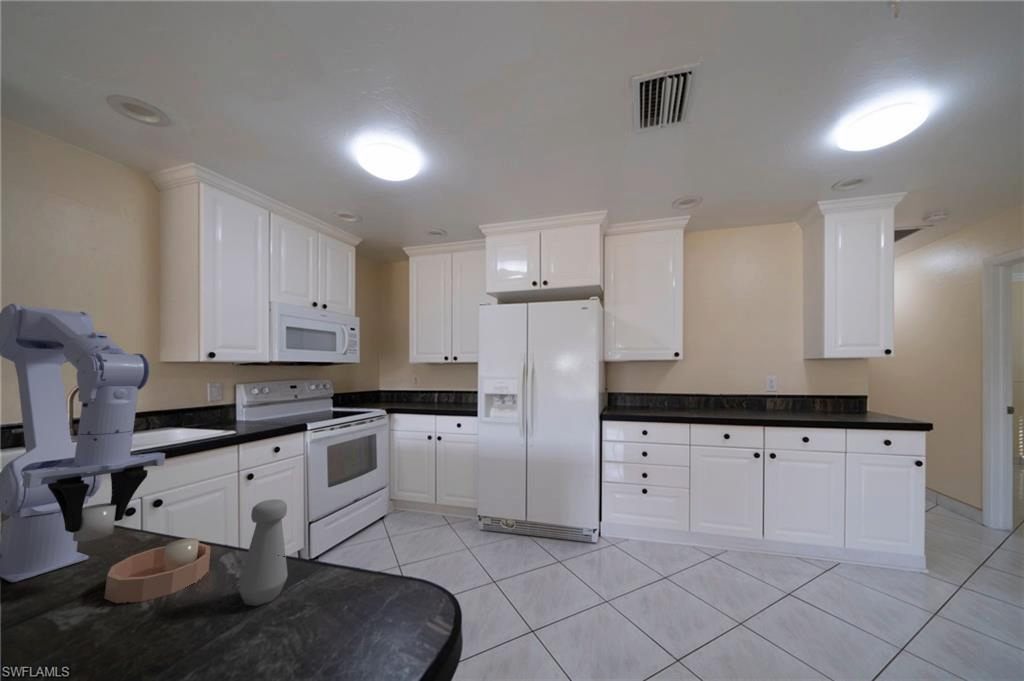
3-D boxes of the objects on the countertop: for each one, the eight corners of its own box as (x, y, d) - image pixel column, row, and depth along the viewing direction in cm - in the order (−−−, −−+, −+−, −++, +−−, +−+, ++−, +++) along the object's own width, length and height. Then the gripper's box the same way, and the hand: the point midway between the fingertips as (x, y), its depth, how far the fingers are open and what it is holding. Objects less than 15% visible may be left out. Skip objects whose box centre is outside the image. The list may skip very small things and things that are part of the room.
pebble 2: (156, 573, 57) (159, 546, 58) (186, 561, 61) (189, 536, 61) (171, 579, 56) (174, 551, 56) (202, 566, 59) (204, 540, 60)
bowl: (89, 591, 53) (91, 569, 53) (181, 556, 63) (183, 538, 64) (133, 610, 49) (136, 586, 49) (224, 570, 59) (226, 550, 60)
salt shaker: (261, 613, 49) (269, 510, 50) (225, 606, 50) (234, 507, 51) (295, 588, 55) (302, 497, 56) (262, 583, 56) (270, 494, 57)
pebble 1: (66, 538, 54) (70, 510, 54) (104, 528, 57) (108, 501, 58) (80, 543, 52) (84, 514, 53) (118, 532, 56) (122, 505, 56)
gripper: (46, 441, 48) (30, 550, 47) (179, 428, 62) (170, 512, 60) (22, 437, 51) (6, 540, 49) (154, 425, 64) (145, 506, 63)
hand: (94, 524), depth 55 cm, fingers closed on pebble 1, 4 cm apart
